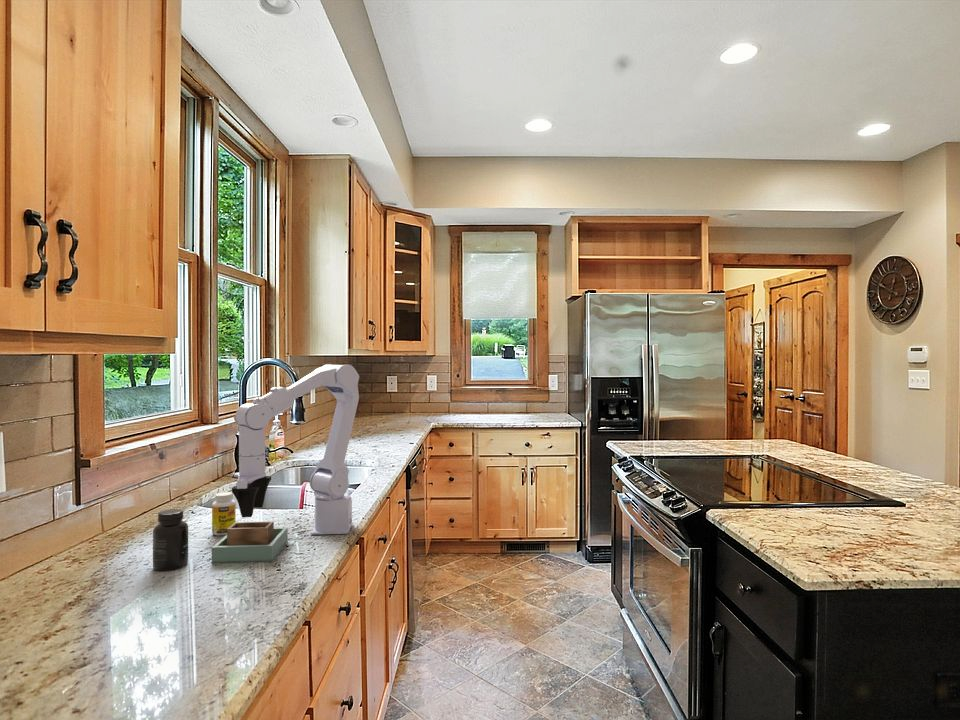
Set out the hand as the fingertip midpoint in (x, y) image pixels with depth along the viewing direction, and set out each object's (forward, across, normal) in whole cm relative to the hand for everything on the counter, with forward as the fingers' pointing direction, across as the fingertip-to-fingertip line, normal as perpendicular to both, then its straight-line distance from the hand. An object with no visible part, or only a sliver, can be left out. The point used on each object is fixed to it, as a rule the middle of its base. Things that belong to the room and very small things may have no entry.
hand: (252, 512), depth 128 cm
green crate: (+10, 0, 0) cm, 10 cm away
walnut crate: (+9, 0, 0) cm, 9 cm away
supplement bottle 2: (+10, -15, -12) cm, 21 cm away
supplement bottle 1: (+10, +7, -15) cm, 19 cm away
